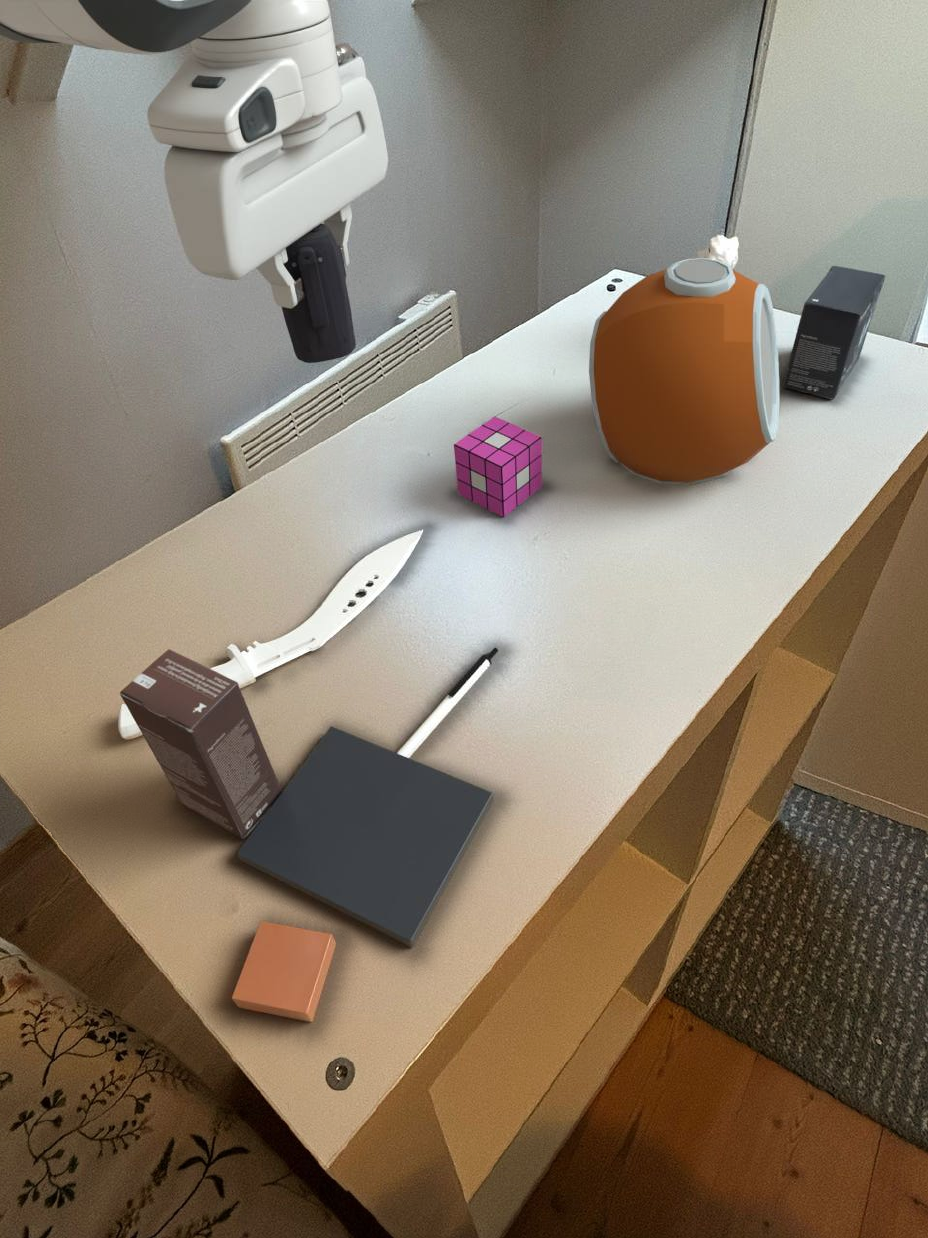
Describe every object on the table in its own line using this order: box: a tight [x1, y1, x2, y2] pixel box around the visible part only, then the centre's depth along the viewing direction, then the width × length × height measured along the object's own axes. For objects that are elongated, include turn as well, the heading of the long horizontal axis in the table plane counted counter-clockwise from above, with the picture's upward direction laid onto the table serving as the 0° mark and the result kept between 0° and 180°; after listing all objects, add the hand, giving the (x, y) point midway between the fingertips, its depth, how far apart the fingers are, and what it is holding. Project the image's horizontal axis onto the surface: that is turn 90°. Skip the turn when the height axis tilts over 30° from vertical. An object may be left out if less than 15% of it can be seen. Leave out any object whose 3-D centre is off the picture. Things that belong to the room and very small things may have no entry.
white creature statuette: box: [696, 234, 740, 270], centre depth 89 cm, size 10×9×12 cm
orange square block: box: [231, 920, 337, 1023], centre depth 48 cm, size 4×4×2 cm
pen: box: [396, 647, 499, 759], centre depth 59 cm, size 1×19×1 cm, turn 144°
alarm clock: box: [588, 257, 780, 485], centre depth 74 cm, size 19×18×17 cm
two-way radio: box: [281, 223, 357, 364], centre depth 62 cm, size 6×4×15 cm
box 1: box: [119, 649, 283, 840], centre depth 52 cm, size 6×4×12 cm
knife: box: [117, 529, 424, 740], centre depth 67 cm, size 30×2×8 cm
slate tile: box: [236, 725, 494, 949], centre depth 54 cm, size 13×11×1 cm
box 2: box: [782, 265, 886, 400], centre depth 84 cm, size 9×6×10 cm, turn 147°
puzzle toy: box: [453, 415, 543, 518], centre depth 76 cm, size 6×6×6 cm
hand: (313, 285), depth 63 cm, fingers closed on two-way radio, 5 cm apart
